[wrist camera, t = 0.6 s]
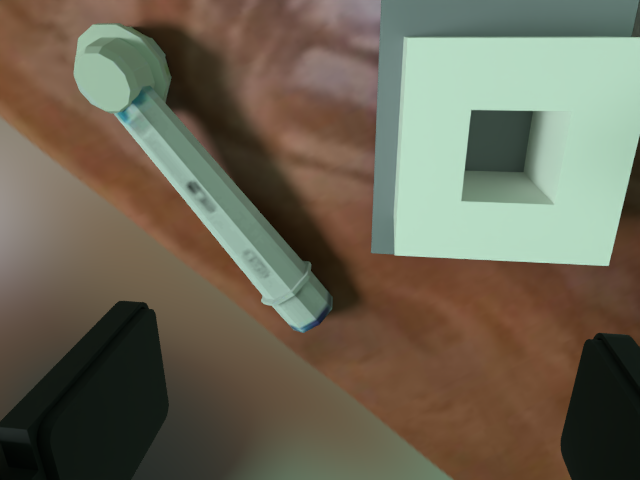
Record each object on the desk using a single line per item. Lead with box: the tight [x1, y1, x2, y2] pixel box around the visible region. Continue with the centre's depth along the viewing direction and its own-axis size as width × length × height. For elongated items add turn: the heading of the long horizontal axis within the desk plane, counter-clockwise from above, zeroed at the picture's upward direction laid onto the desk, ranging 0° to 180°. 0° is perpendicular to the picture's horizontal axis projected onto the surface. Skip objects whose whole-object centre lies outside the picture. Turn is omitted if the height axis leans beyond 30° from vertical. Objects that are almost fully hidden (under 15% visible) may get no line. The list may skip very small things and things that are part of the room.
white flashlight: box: [74, 23, 333, 333], centre depth 36 cm, size 5×7×25 cm
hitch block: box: [371, 0, 640, 266], centre depth 31 cm, size 18×15×8 cm
